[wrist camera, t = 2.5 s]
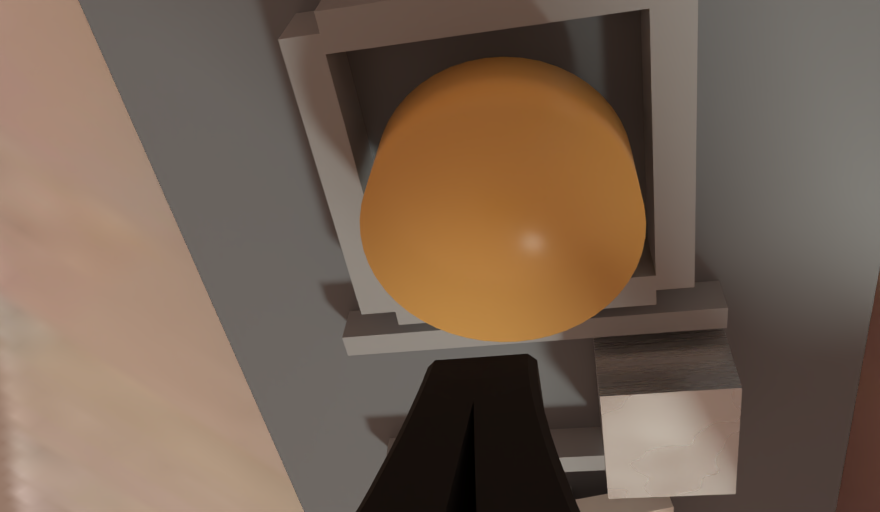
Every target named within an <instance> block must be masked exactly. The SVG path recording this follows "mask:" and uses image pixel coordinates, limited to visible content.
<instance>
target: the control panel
mask: <svg viewBox="0 0 880 512" xmlns="http://www.w3.org/2000/svg"><path fill="white" fill-rule="evenodd" d="M79 3H80V5H81V7H82V9H83V12H84V14H85V16H86V18H87V21H88V23H89V25H90V27H91V30H92V32H93V34H94V37H95V39H96V41H97V43H98V46H99V48H100V50H101V52H102V55H103V57H104V59H105V61H106V64H107V66H108V68H109V70H110V73H111V75H112V77H113V80H114V82H115V84H116V86H117V89H118V91H119V93H120V95H121V98H122V100H123V102H124V104H125V107H126V109H127V111H128V113H129V116H130V118H131V120H132V123H133V125H134V127H135V129H136V132H137V134H138V136H139V138H140V141H141V143H142V145H143V147H144V150H145V152H146V154H147V157H148V159H149V161H150V163H151V166H152V168H153V170H154V172H155V175H156V177H157V179H158V181H159V184H160V186H161V188H162V190H163V193H164V195H165V197H166V200H167V202H168V204H169V206H170V209H171V211H172V213H173V215H174V218H175V220H176V222H177V224H178V227H179V229H180V231H181V233H182V236H183V238H184V240H185V243H186V245H187V247H188V249H189V252H190V254H191V256H192V258H193V261H194V263H195V265H196V267H197V270H198V272H199V274H200V277H201V279H202V281H203V283H204V286H205V288H206V290H207V292H208V295H209V297H210V299H211V301H212V304H213V306H214V308H215V310H216V313H217V315H218V317H219V320H220V322H221V324H222V326H223V329H224V331H225V333H226V335H227V338H228V340H229V342H230V344H231V347H232V349H233V351H234V353H235V356H236V358H237V360H238V363H239V365H240V367H241V369H242V372H243V374H244V376H245V378H246V381H247V383H248V385H249V387H250V390H251V392H252V394H253V397H254V399H255V401H256V403H257V406H258V408H259V410H260V412H261V415H262V417H263V419H264V421H265V424H266V426H267V428H268V430H269V433H270V435H271V437H272V440H273V442H274V444H275V446H276V449H277V451H278V453H279V455H280V458H281V460H282V462H283V464H284V467H285V469H286V471H287V473H288V476H289V478H290V480H291V483H292V485H293V487H294V489H295V492H296V494H297V496H298V498H299V501H300V503H301V505H302V507H303V510H304V512H356V511H357V509H358V507H359V506H360V504H361V502H362V500H363V499H364V497H365V495H366V493H367V492H368V490H369V488H370V486H371V484H372V482H373V481H374V479H375V477H376V475H377V473H378V471H379V469H380V468H381V466H382V464H383V462H384V460H385V458H386V456H387V455H388V453H389V451H390V449H391V447H392V445H393V443H394V441H395V439H396V437H397V435H398V433H399V431H400V429H401V427H402V425H403V423H404V421H405V419H406V417H407V414H408V412H409V410H410V408H411V406H412V404H413V401H414V399H415V397H416V395H417V392H418V390H419V388H420V386H421V383H422V381H423V378H424V376H425V373H426V371H427V368H428V367H429V366H430V365H431V364H432V363H433V362H434V361H435V360H445V359H459V358H473V357H487V356H500V355H514V354H529V355H531V356H532V357H534V358H535V359H537V362H538V369H539V376H540V383H541V390H542V397H543V404H544V411H545V415H546V418H547V421H548V425H549V428H550V432H551V435H552V438H553V441H554V444H555V447H556V450H557V453H558V456H559V459H560V461H561V464H562V467H563V469H564V472H565V474H566V477H567V480H568V482H569V485H570V487H571V490H572V493H573V495H574V498H575V500H576V499H581V498H587V497H592V496H597V495H603V494H608V490H607V480H606V471H605V461H604V452H603V442H602V433H601V423H600V411H599V399H598V388H597V376H596V364H595V352H594V341H593V338H597V337H610V336H624V335H638V334H651V333H665V332H679V331H692V330H706V329H719V328H724V331H725V334H726V337H727V341H728V344H729V347H730V350H731V353H732V357H733V360H734V363H735V366H736V370H737V373H738V376H739V379H740V383H741V386H742V399H741V415H740V431H739V447H738V463H737V479H736V494H722V495H697V496H671V497H670V499H671V502H672V504H673V507H674V512H836V507H837V501H838V496H839V490H840V485H841V479H842V473H843V468H844V462H845V457H846V451H847V446H848V440H849V435H850V429H851V424H852V418H853V413H854V407H855V402H856V396H857V391H858V385H859V380H860V374H861V369H862V363H863V358H864V352H865V347H866V341H867V336H868V330H869V325H870V319H871V314H872V308H873V303H874V297H875V291H876V286H877V280H878V275H879V269H880V0H79ZM491 57H520V58H527V59H532V60H538V61H542V62H545V63H548V64H551V65H554V66H557V67H559V68H562V69H564V70H566V71H568V72H570V73H572V74H574V75H576V76H577V77H579V78H580V79H582V80H584V81H585V82H587V83H588V84H589V85H590V86H592V87H593V88H594V89H595V90H596V91H598V92H599V93H600V94H601V95H602V96H603V97H604V98H605V100H606V101H607V102H608V103H609V104H610V105H611V106H612V108H613V109H614V111H615V112H616V114H617V116H618V117H619V119H620V120H621V122H622V124H623V127H624V129H625V131H626V133H627V136H628V140H629V143H630V147H631V151H632V155H633V159H634V164H635V168H636V172H637V177H638V181H639V185H640V190H641V194H642V198H643V203H644V208H645V217H646V234H645V242H644V247H643V251H642V255H641V257H640V260H639V263H638V265H637V268H636V270H635V271H634V273H633V275H632V277H631V278H630V280H629V282H628V283H627V284H626V286H625V287H624V288H623V290H622V291H621V292H620V294H619V295H618V296H617V297H616V298H615V299H614V300H613V301H612V302H611V303H610V304H609V305H608V306H606V307H605V308H604V309H602V310H601V311H600V312H599V313H597V314H596V315H595V316H593V317H591V318H590V319H588V320H586V321H585V322H583V323H581V324H579V325H577V326H575V327H573V328H571V329H568V330H566V331H563V332H560V333H557V334H554V335H551V336H548V337H543V338H539V339H534V340H526V341H518V342H493V341H482V340H476V339H470V338H465V337H462V336H458V335H454V334H451V333H448V332H446V331H443V330H440V329H438V328H435V327H433V326H431V325H430V324H428V323H426V322H424V321H422V320H420V319H419V318H417V317H416V316H414V315H412V314H411V313H409V312H408V311H407V310H405V309H404V308H403V307H402V306H401V305H399V304H398V303H397V302H396V301H395V300H394V299H393V298H392V297H391V296H390V295H389V294H388V293H387V292H386V291H385V289H384V288H383V287H382V285H381V284H380V282H379V281H378V280H377V278H376V277H375V275H374V273H373V271H372V269H371V267H370V266H369V264H368V261H367V258H366V255H365V253H364V250H363V245H362V241H361V236H360V211H361V203H362V200H363V196H364V192H365V189H366V186H367V182H368V179H369V176H370V173H371V169H372V166H373V163H374V160H375V156H376V153H377V150H378V147H379V143H380V140H381V137H382V134H383V132H384V130H385V127H386V125H387V123H388V121H389V119H390V117H391V116H392V114H393V113H394V111H395V110H396V108H397V107H398V106H399V104H400V103H401V102H402V101H403V100H404V99H405V97H406V96H407V95H408V94H409V93H411V92H412V91H413V90H414V89H415V88H416V87H417V86H418V85H420V84H421V83H423V82H424V81H426V80H427V79H429V78H430V77H432V76H433V75H435V74H437V73H439V72H441V71H443V70H445V69H447V68H449V67H452V66H455V65H458V64H461V63H464V62H467V61H472V60H477V59H482V58H491Z"/></svg>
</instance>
